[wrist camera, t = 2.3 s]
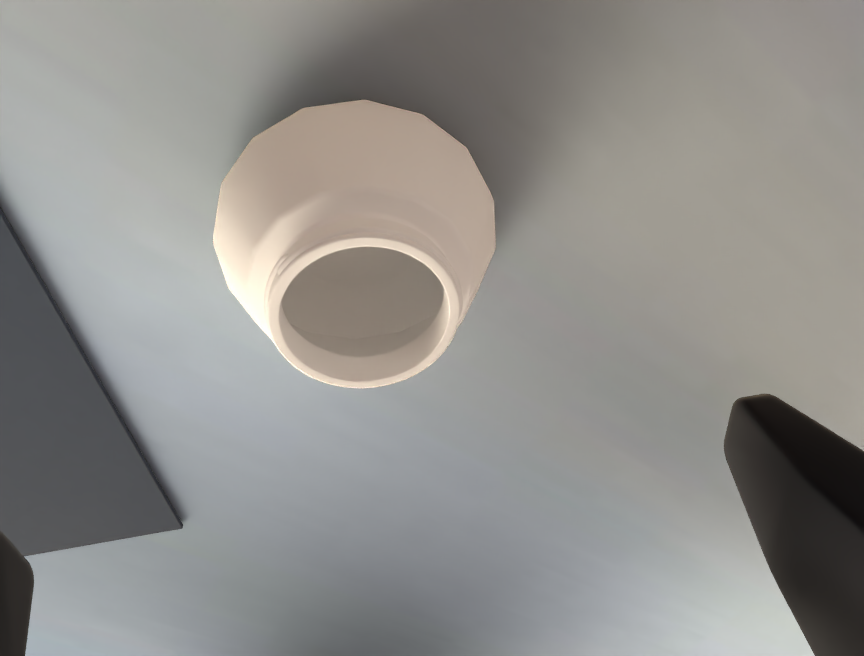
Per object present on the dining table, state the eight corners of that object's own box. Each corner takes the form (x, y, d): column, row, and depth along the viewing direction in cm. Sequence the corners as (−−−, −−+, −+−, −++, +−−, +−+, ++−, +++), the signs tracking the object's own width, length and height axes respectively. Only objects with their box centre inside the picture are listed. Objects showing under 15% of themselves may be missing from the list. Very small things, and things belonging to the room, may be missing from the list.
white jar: (540, 196, 13) (321, 29, 11) (585, 285, 11) (323, 99, 9) (381, 360, 16) (169, 250, 13) (393, 463, 13) (139, 353, 11)
